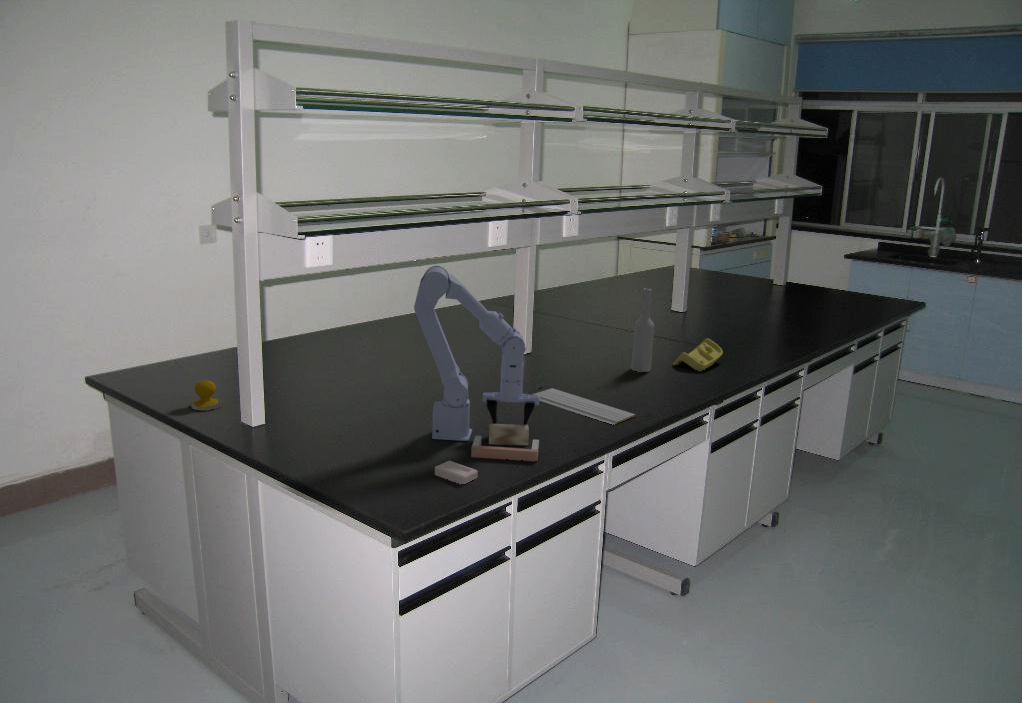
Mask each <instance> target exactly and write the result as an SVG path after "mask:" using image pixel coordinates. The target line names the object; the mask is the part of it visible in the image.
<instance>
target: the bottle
mask: <svg viewBox="0 0 1022 703" xmlns="http://www.w3.org/2000/svg"><path fill="white" fill-rule="evenodd" d="M642 290H643V297H642V304H641V305H642V308H641V314H640V317H639V319H637V321H636V322H635V324H634V332H633V344H632V352H631V364H630V370H631V369H632V370H634V371H637V372H636V373H639V372H648V373H650V372H651V371H650V370H651V369H652V359H653V358H652V356H653V345H654V344H653V343H654V333H655V331H654V330H655V324H654V322H653V321H652V318H651V317H650V312H651V310H650V309H651V298H652V297H651V296H652V289H651V288H643V289H642ZM632 370H631V371H632ZM634 371H633V372H634ZM649 371H650V372H649Z"/></svg>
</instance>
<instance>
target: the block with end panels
mask: <svg viewBox="0 0 1022 703" xmlns="http://www.w3.org/2000/svg"><path fill="white" fill-rule="evenodd" d="M482 439H483V438H482V435H475V437H474V439H473V442H472V445H471V450H470V451H471V453H470V454H471V455H470V457H471V458H479V459H492V460H506V459H508V460H511V461H521V460H523V462H535V461H537V462H538V456H539V450H538V449H539V448H540V439H536V438H535V439H532V444H531V445H532V446H531V448H520V447H504V446H489V445H488V446H487V445H482ZM508 460H507V461H508Z"/></svg>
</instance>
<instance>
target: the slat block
mask: <svg viewBox="0 0 1022 703" xmlns="http://www.w3.org/2000/svg"><path fill="white" fill-rule="evenodd" d="M488 425H489V426H488V445H499V446H500V445H501V446H504V445H505V446H507V445H508V446H529V440H530V439H529V438H530V437H529V436H530V435H529V434H530V429H529V424H527V425H523V424H509V423H506V424H505V423H497V424H493V423H489V424H488Z"/></svg>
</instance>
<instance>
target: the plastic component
mask: <svg viewBox="0 0 1022 703" xmlns="http://www.w3.org/2000/svg"><path fill="white" fill-rule="evenodd" d="M723 353H724V351H723V349H722V347H720V346H719V344H718V343H716V342H714V341H713V340H712V339H710V338H705V339H703V340H702V341H701V342H700V344H698V345H697V346H696V347H694V349H692V351H690V352H688V353H687V352H684V351H683V352H681V354H680V355H678V357H677V358H676V359H675V360H674V361H673V363H672V365H673V366H675V365H677V366H679V365H680V364H682V363H685V364H686V365H688V366H689V367H690V368H692V369H694V370H695V371H696V370H697V372H703V371H702V370H704V371H706V368H707V369H708V368H710V367H711V366H713V365H714V364H715V363H716V362H717V360H719V359H720V358H721V357H722V356H723ZM681 362H682V363H681Z"/></svg>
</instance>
